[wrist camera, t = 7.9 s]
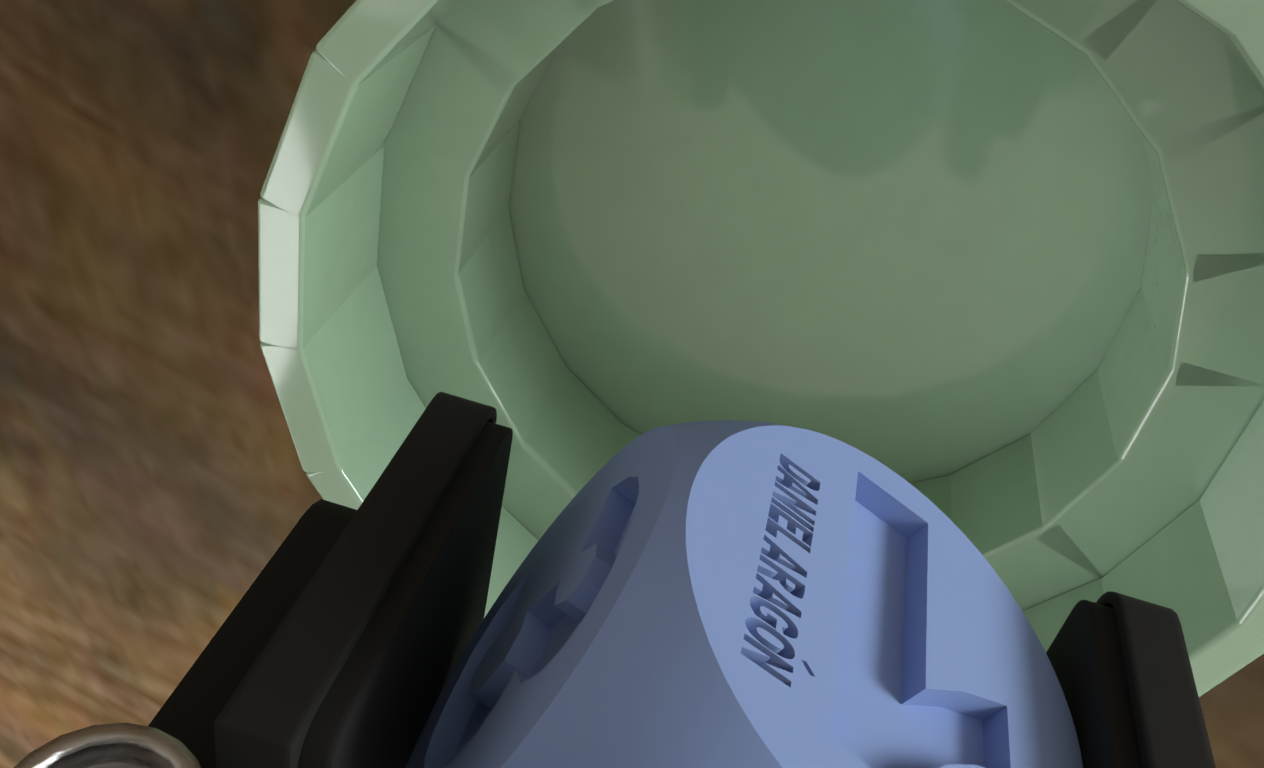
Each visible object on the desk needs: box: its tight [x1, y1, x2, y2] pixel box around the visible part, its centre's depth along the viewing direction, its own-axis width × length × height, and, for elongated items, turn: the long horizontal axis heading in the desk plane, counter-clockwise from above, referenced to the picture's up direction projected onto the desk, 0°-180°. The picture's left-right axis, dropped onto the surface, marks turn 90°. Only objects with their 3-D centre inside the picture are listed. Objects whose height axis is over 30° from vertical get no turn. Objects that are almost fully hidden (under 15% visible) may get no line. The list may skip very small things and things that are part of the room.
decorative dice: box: [406, 420, 1083, 768], centre depth 9 cm, size 4×4×4 cm
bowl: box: [258, 0, 1264, 697], centre depth 16 cm, size 13×13×6 cm
